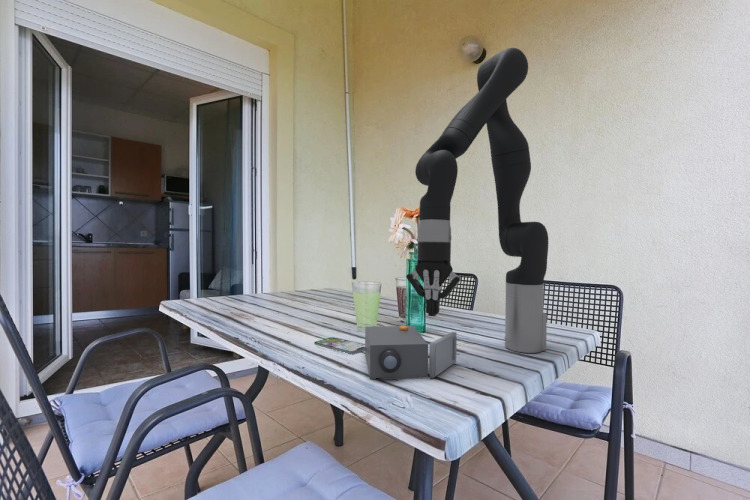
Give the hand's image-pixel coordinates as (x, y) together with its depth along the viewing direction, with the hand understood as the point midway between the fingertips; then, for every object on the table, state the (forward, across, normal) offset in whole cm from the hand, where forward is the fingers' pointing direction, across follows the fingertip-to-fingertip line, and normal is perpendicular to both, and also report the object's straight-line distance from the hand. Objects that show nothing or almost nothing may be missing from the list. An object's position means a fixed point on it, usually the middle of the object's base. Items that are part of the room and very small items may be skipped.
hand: (432, 315), depth 83 cm
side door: (+11, +4, -3) cm, 12 cm away
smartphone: (+12, -26, +3) cm, 29 cm away
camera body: (+11, -8, -5) cm, 14 cm away
